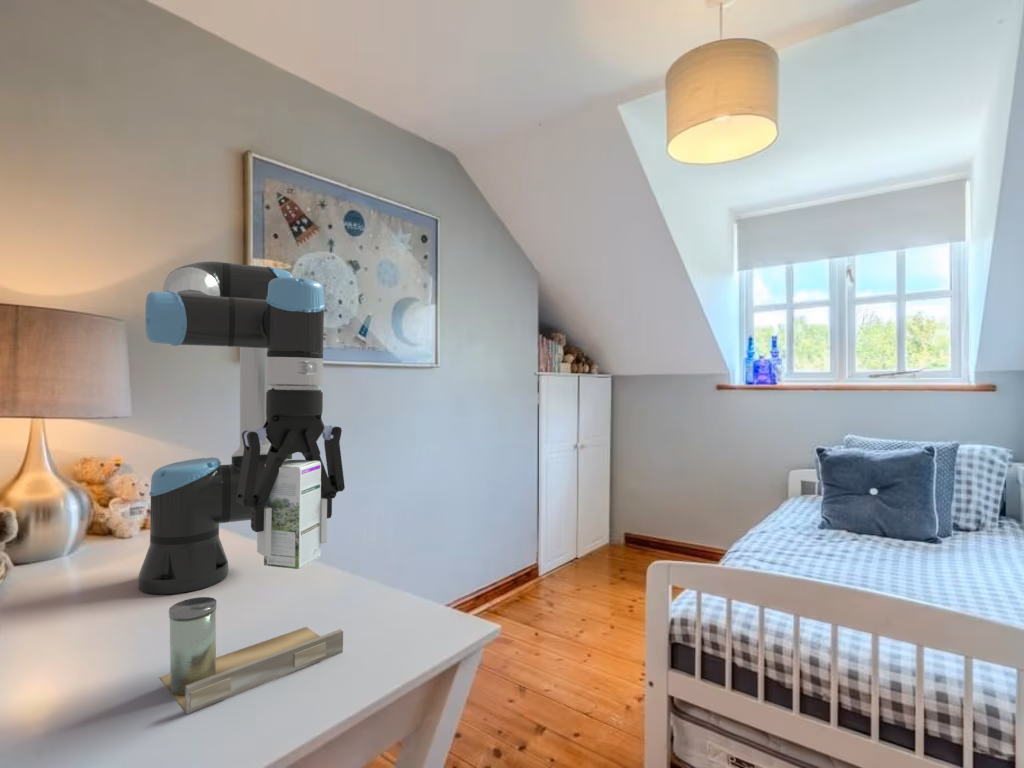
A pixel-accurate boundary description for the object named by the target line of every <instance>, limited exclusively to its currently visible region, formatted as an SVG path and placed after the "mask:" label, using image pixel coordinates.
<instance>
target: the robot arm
mask: <svg viewBox="0 0 1024 768" xmlns="http://www.w3.org/2000/svg"><path fill="white" fill-rule="evenodd" d="M324 293H325V290H324V287H323V285H322V284H321V283H320V282H318V281H316V280H312V279H310V278H309V279H308V278H302V277H293V275H292V273H290V272H289V271H288V270H286V269H280V268H275V267H271V266H259V265H250V264H239V263H233V262H231V263H230V262H229V263H228V262H223V261H212V260H211V261H199V262H194V263H189V264H186V265H182V266H179V267H178V268H175V269H174V270H173V271H171V272H170V273H168V275H167V276H166V278H165V279H164V282H163V287H162V291H158V290H155V291H150V292H149V293H148V294H147V295H146V298H145V311H144V312H145V318H144V319H145V335H146V339H147V340H148V341H149V342H151V343H153V344H162V345H171V346H174V347H176V346H181V345H182V346H201V347H202V346H203V347H206V346H207V347H208V346H209V347H228V348H229V347H232V348H239V446H238V448H237V449H236V450H235V451H234V452H233V453H232V455H231V463H230V464H229V463H228V464H221V463H222V462H221V461H220V458H218V457H201V458H191V459H187V460H182V461H177V462H173V463H169V464H166V465H163V466H161V467H159V468H157V469H156V470H154V472H153V473H152V475H151V482H150V491H149V494H148V495H149V496H150V521H149V522H150V523H149V524H150V525H149V526H150V528H149V530H150V531H149V538H150V539H149V546H148V549H147V552H146V555H145V558H144V560H143V562H142V565H141V568H140V570H139V573H138V583H137V584H138V589H139V590H140V591H141V592H144V593H147V594H152V595H153V594H154V595H171V594H172V595H173V594H182V593H188V592H193V591H196V590H197V591H198V590H201V589H204V588H208V587H211V586H213V585H216V584H217V583H220V582H222V581H224V579H226V578H227V576H228V575H229V560H228V558H227V556H226V553H225V552H226V551H225V549H224V547H223V544H222V541H221V539H220V524H223V523H224V524H225V523H235V522H243V521H250V528H251V530H252V531H253V532H255V533H257V535H256V536H257V538H256V539H257V542H256V543H257V545H256V546H257V547H256V549H257V550H256V552H257V553H258V554H260V555H262V556H263V557H264V556H265V557H266V556H270V555H271V517H272V508H270V507H268V506H266V503H267V501H268V498H269V496H270V493H271V491H272V488H273V486H274V483H275V481H276V478H277V476H278V473H279V467H281V466H282V463H283V461H285V460H286V459H293V455H294V454H297V453H301V455H302V456H303V458H304V460H311V461H320V462H321V514H320V545H323V544H326V543H327V541H328V539H327V538H328V537H327V535H328V534H327V533H328V532H327V531H328V530H327V529H328V525H327V524H328V519H330V518H332V515H333V513H332V512H333V508H332V507H333V499H335V498H336V497H337V494H338V493H339V492H343V491H344V490H345V487H346V486H345V480H344V479H345V478H344V470H343V463H342V454H341V453H342V452H341V445H340V441H341V436H342V428H341V427H340V426H335V425H325V424H324V422H323V420H322V415H323V407H324V406H323V405H324V404H323V399H324V397H323V396H324V395H323V394H324V392H322V390H321V389H319V387H320V386H322V385H323V383H324V377H323V376H324V326H325V323H324V322H325V321H324V319H325V310H326V303H325V297H324V296H325V295H324ZM321 436H322V439H323V444H324V445H323V446H324V453H325V460H326V461H325V462H326V469H327V471H326V469H325V466H324V463H323V460H322V457H321V450H320V448H319V445H318V440H319V439H320V437H321ZM265 464H266V466H265ZM149 496H148V497H149Z"/></svg>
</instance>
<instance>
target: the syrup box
mask: <svg viewBox="0 0 1024 768" xmlns="http://www.w3.org/2000/svg"><path fill="white" fill-rule="evenodd" d="M265 466H266V464H265ZM266 506H268V507H270V508H272V517H271V555H270V556H266V557H265V556H263V565H264V566H266V567H267V566H268V567H276V568H285V569H292V570H293V569H294V570H299V569H303V568H304V567H306V566H308V565H310V564H311V563H313V562H315V561H316V560H318V559H319V558H321V543H320V514H321V462H320V461H311V460H306V459H293V458H292V459H286V460H285V461H283V463H282V466H281V467H279V473H278V476H277V478H276V481H275V483H274V486H273V488H272V491H271V493H270V496H269V498H268V501H267V503H266Z"/></svg>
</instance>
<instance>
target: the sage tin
mask: <svg viewBox="0 0 1024 768" xmlns="http://www.w3.org/2000/svg"><path fill="white" fill-rule="evenodd" d="M216 610H217V599H216V598H213V597H209V596H208V597H207V596H202V597H200V596H198V597H194V598H189V599H184V600H181V601H178V602H176V603H175V604H173V605H171V606H170V607H169V609H168V618H169V648H170V649H169V653H170V654H169V655H170V657H169V658H170V667H169V668H170V671H169V672H170V673H169V674H170V682H171V692H170V694H171V695H172V694H174V695H178V696H185V686H186V685H188V684H191V683H194V682H197V681H199V680H202V679H205V678H208V677H210V676H213V675H216V658H217V639H216V638H217V631H216V629H217V628H216V625H217V624H216V623H217V622H216V619H217V618H216V617H217V616H216V615H217V613H216Z"/></svg>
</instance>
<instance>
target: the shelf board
mask: <svg viewBox="0 0 1024 768" xmlns="http://www.w3.org/2000/svg"><path fill="white" fill-rule="evenodd" d="M343 652H344V630H342V629H337V630H335V631H331V632H330V633H329V632H328V633H326V634H322V635H321V636H320V635H319V634H318V633H316V632H315V631H313V630H312V629H310V628H309V627H307V626H305V627H301V628H299V629H296V630H293V631H290V632H288V633H284V634H282V635H279V636H275V637H273V638H270V639H267V640H264V641H259V642H258V643H255V644H252V645H248V646H247V647H243V648H239V649H238V650H234V651H231V652H229V653H226V654H223V655H219V656H216V675H213V676H210V677H208V678H205V679H202V680H199V681H197V682H194V683H191V684H188V685H186V686H185V696H178V695H174V694H172V693H171V682H170V673H168V674H164V675H161V676H159V679H160V681H162V683H163V684H164V685H165V687H166V688H167V689H168V691H169V692H170V693H171V695H172V696H173V697H174V699H175V700H176V701H177V703H178V704H179V706H180V707H181V708H182V710H183V711H184V712H185V713H186V715H189V714H192V713H195V712H197V711H199V710H202V709H204V708H207V707H209V706H212V705H214V704H216V703H219V702H222V701H224V700H226V699H230V698H231V697H234V696H237V695H240V694H242V693H244V692H247V691H249V690H252V689H254V688H257V687H259V686H262V685H264V684H266V683H270V682H272V681H275V680H277V679H280V678H281V677H284V676H286V675H287V676H288V675H290V674H292V673H294V672H297V671H299V670H302V669H304V668H307V667H309V666H312V665H314V664H317V663H319V662H322V661H324V660H327V659H329V658H331V657H335V656H337V655H340V654H341V653H343Z"/></svg>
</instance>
